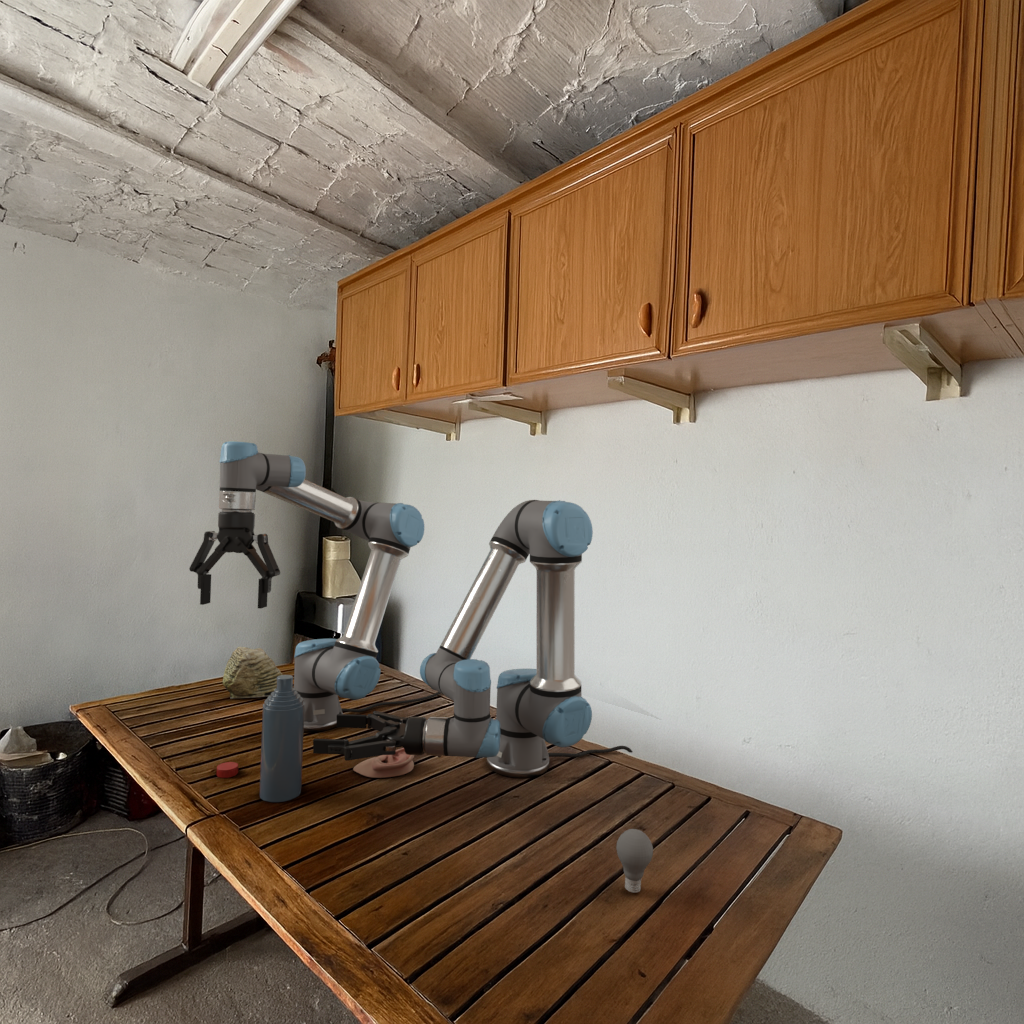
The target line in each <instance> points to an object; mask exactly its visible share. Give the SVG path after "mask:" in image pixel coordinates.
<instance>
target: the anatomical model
mask: <svg viewBox="0 0 1024 1024" xmlns="http://www.w3.org/2000/svg"><path fill="white" fill-rule="evenodd" d="M414 758H415V755H407V754H406V753H405V749H404V748H403V747H400V748H398V749H396V754H394V755H380V756H374V757H369V758H366V759H364V760H363V761H361V762H359V763H358V764H356V765H355V766H354V767H353V768H352V770H353V771H354V772H356V773H357V774H359V775H361V776H364V777H368V778H371V779H379V778H380V779H382V778H391V777H399V776H403V775H405V774H408V773H410V772H411V771H413V770H414V766H415V763H414V761H413V760H414Z"/></svg>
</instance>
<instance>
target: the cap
mask: <svg viewBox="0 0 1024 1024" xmlns="http://www.w3.org/2000/svg"><path fill="white" fill-rule="evenodd" d="M238 773H239V763H238V762H234V761H227V762H226V761H225V762H222V763H219V764H217V766H216V776H217V777H218V778H220V779H228V778H232V777H235V776H236V775H238Z"/></svg>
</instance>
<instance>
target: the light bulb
mask: <svg viewBox="0 0 1024 1024" xmlns="http://www.w3.org/2000/svg"><path fill="white" fill-rule="evenodd" d="M615 849H616V854H617V857H618V859H619V861H620V863H621V865H622V867H623V873H624V874H623V875H624V876H625V878H624V888H625V890H627V891H628V892H630V893H634V894H635V893H639V892H640V891H641V889H642V887H641V886H642V879H643V877H644V875H645V871H646V868H647V867H648V866H649V864H650V863H651V861H652V859H653V855H654V847H653V843H652V841H651V838H649V836H648V835H647V834H646V833H645V832H643V831H642V830H641V829H636V828H629V829H627V830H625V831H623V832H622V833H621V834H620V835H619V837H618V839H617V841H616V847H615Z"/></svg>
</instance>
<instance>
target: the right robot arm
mask: <svg viewBox="0 0 1024 1024" xmlns="http://www.w3.org/2000/svg"><path fill="white" fill-rule="evenodd" d="M593 533H594V532H593V523H592V520H591V518H590V516H589V514H588V513H587V512H586V511H585V510H584V508H583V507H582V506H580V505H579V504H576V503H574V502H571V501H566V500H560V499H559V500H539V499H528V500H524V501H522V502H521V503H518V504H517V505H515V506H514V507H513V508H512V509H511V510H510V511H509V512H508V513H507V514H506V515H505V516H504V518H502V521H501V522H500V523H499V525H498V526H497V528H496V530H495V532H493V535H492V537H491V539H490V540H489V543H488V545H489V549H490V550H489V552H488V553H487V556H486V558H485V559H484V561H483V563H482V565H481V568H480V569H479V571H478V572H477V575H476V576H475V579H474V580H473V582H472V584H471V586H470V588H469V589H468V592H467V594H466V596H465V598H464V599H463V601H462V604H461V606H460V607H459V609H458V610H457V613H456V614H455V616H454V618H453V620H452V622H451V624H450V626H449V628H448V629H447V632H446V634H445V635H444V637H443V639H442V641H441V643H440V645H439V647H438V649H437V651H436V652H432V653H430V654H428V655H427V656H425V658H424V659H423V660H422V662H421V663H420V667H419V675H420V678H421V680H422V682H424V684H426V685H427V686H429V688H430V689H432V690H433V691H436V692H440V693H442V694H441V695H444V696H445V697H446V698H448V699H449V700H451V701H453V717H444V716H443V717H440V716H429V717H428V718H426V717H425V716H409V717H405V716H399V715H395V714H391V713H387V712H383V711H379V710H374V711H372V713H368V714H347V713H343V714H337V727H336V728H340V729H341V728H343V729H367V730H374V731H377V732H376V733H375V734H374V735H371V736H367V737H362V738H358V739H354V740H349V739H348V738H344V739H340V738H339V739H338V738H337V739H336V738H313V740H312V743H313V744H312V753H313V754H315V755H316V754H317V755H318V754H319V755H343V756H344V761H355V760H361V759H369V758H374V757H378V756H381V755H394V754H396V750H397V748H404V749H405V753H406V754H407V755H414V756H423V755H424V754H425V756H435V757H437V758H442V757H459V758H460V757H462V758H475V759H480V758H481V759H483V758H486V766H487V767H488V769H490V770H491V771H492V772H494V773H496V774H498V775H500V776H501V775H502V776H505V777H511V778H519V779H520V778H521V779H522V778H532V777H537V776H540V775H542V774H544V773H546V772H548V770H549V768H550V758H580V757H581V758H582V757H584V756H587V755H590V754H609V753H612V752H615V751H619V750H625V751H626V752H628V753H631V754H632V753H634V752H633V750H632V749H631V747H629V746H626V745H618V746H614V747H610V748H605V749H604V748H603V749H588V750H584V751H581V752H576V753H572V752H571V753H569V752H549V751H548V747H547V744H546V743H548V744H550V745H553V746H555V747H558V748H569V747H572V746H574V745H576V744H578V743H579V742H580V741H581V740H582V739H583V738H584V735H585V734H587V733H588V731H589V729H590V726H591V723H592V718H593V710H592V707H591V704H590V703H589V702H588V700H587V699H586V698H584V697H583V696H582V680H581V679H580V678H579V677H578V676H577V675H576V673H575V672H576V664H575V663H576V657H575V656H576V640H575V639H576V569H577V568H578V567H579V566H580V565H581V563H582V562H583V554H584V553H585V552H586V551H587V550H588V549H589V546H590V545H591V543H592V540H593ZM528 557H529V563H530V564H531V565H532V566H533V567H534V568H535V569H536V668H512V669H507V670H504V671H501V672H500V673H499V675H498V677H497V683H496V710H495V711H496V712H495V718H492V715H491V686H492V679H491V667H490V665H489V664H488V662H486V661H485V660H482V659H481V660H480V659H477V658H476V659H475V658H472V657H473V655H474V653H475V651H476V649H477V647H478V645H479V643H480V641H481V639H482V637H483V635H484V634H485V631H486V629H487V627H488V626H489V624H490V622H491V620H492V618H493V616H494V614H495V612H496V610H497V608H498V606H499V604H500V603H501V600H502V598H503V596H504V595H505V592H506V590H507V588H508V586H509V585H510V583H511V581H512V579H513V577H514V575H515V573H516V571H517V569H518V568H519V566H520V565H522V564H524V563H526V561H527V559H528Z"/></svg>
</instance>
